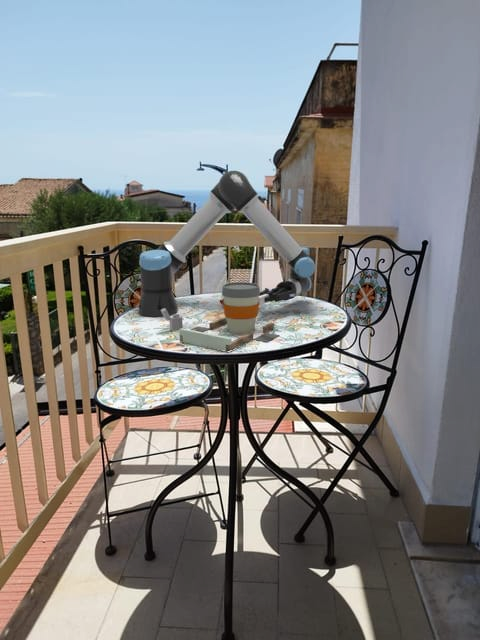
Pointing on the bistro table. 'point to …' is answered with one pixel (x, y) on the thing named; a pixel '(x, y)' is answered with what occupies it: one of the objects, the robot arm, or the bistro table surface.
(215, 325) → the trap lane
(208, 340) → the pale grey board
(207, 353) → the bistro table surface
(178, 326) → the lighter
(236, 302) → the reusable coffee cup
